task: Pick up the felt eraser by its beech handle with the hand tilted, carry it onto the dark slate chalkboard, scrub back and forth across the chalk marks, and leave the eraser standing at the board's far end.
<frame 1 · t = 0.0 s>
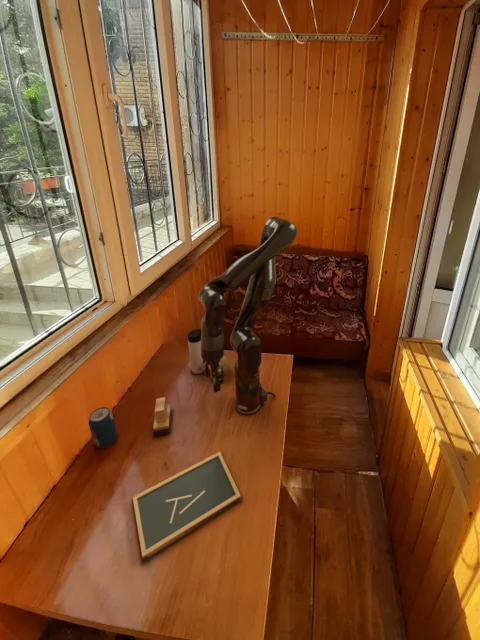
hand: (212, 383, 109), 17 cm above the table, tool pointing down, fingers open, 8 cm apart
soda can: (106, 441, 106), on the table
eraser: (163, 423, 113), on the table
chalkboard: (187, 501, 89), on the table
travel mug: (199, 370, 140), on the table
natural sponge: (220, 374, 137), on the table
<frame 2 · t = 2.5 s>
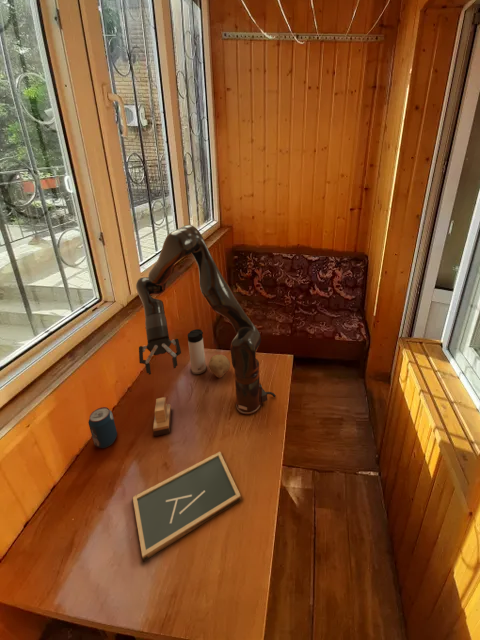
hand: (162, 371, 113), 18 cm above the table, tool tilted 40°, fingers open, 8 cm apart
nothing on the table moved.
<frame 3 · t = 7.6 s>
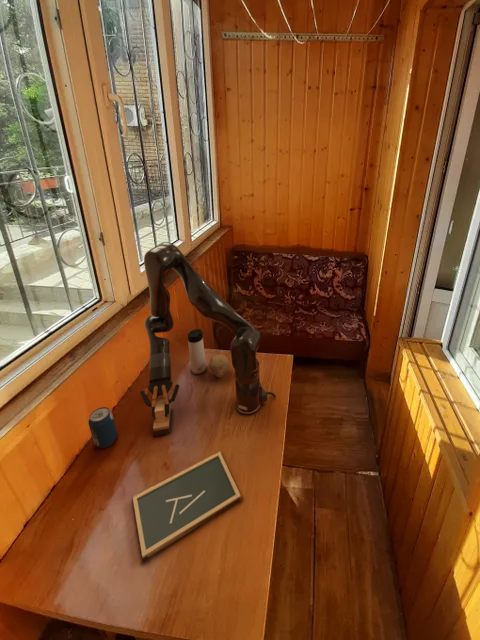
hand: (161, 417, 110), 5 cm above the table, tool tilted 45°, fingers closed on eraser, 3 cm apart
eraser: (163, 423, 113), on the table, touching gripper
everything else where it was.
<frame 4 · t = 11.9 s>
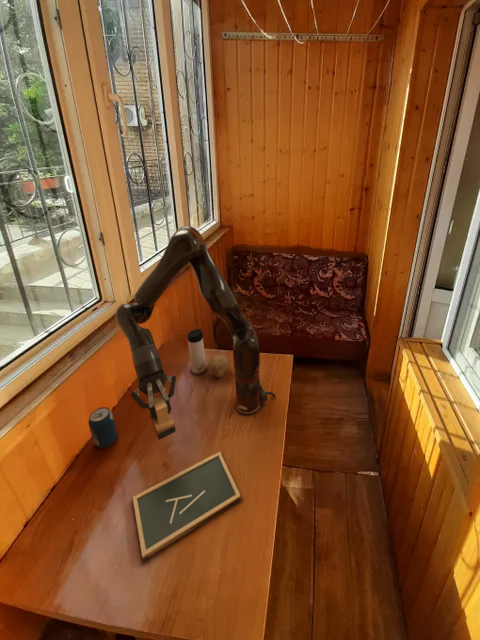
hand: (162, 416, 93), 19 cm above the table, tool tilted 45°, fingers closed on eraser, 3 cm apart
eraser: (162, 424, 97), point 14 cm above the table, touching gripper
everything else where it was.
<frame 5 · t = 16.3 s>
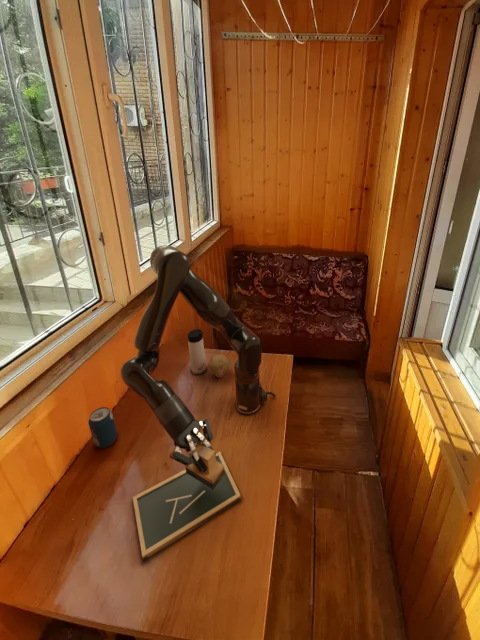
hand: (209, 464, 87), 12 cm above the table, tool tilted 45°, fingers closed on eraser, 3 cm apart
eraser: (205, 473, 89), point 7 cm above the table, touching gripper
everything else where it was.
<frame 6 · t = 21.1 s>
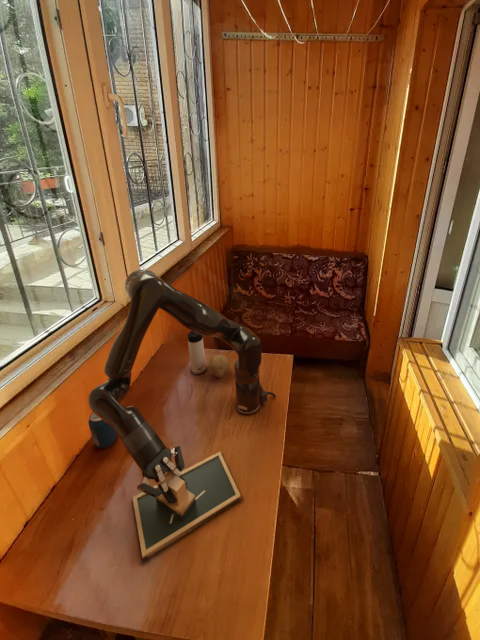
hand: (180, 495, 84), 6 cm above the table, tool tilted 45°, fingers closed on eraser, 3 cm apart
eraser: (176, 503, 87), point 2 cm above the table, touching chalkboard, gripper
everything else where it was.
when the fingers open (6 cm above the table, at t = 25.1 s): eraser stays where it is, resting on chalkboard.
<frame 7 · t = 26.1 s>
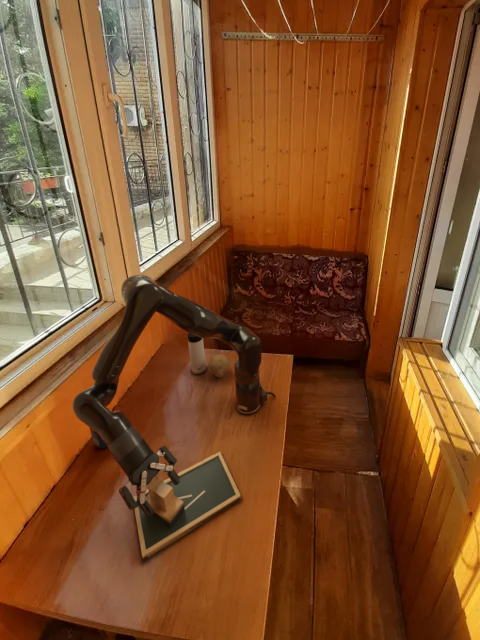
hand: (165, 498, 83), 7 cm above the table, tool tilted 45°, fingers open, 8 cm apart
eraser: (164, 509, 85), point 2 cm above the table, touching chalkboard
everything else where it was.
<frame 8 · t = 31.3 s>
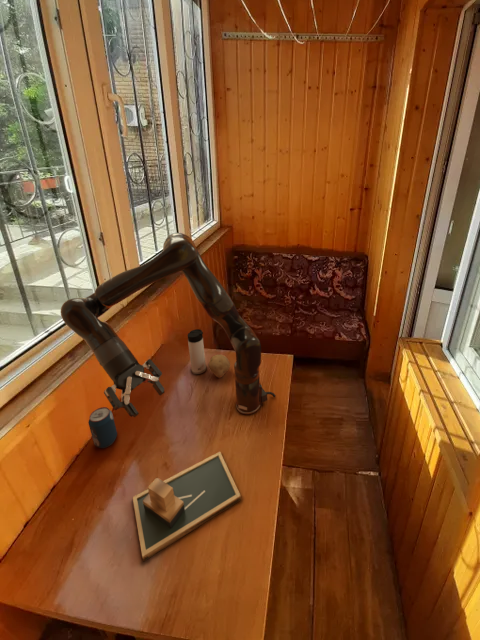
hand: (150, 404, 85), 29 cm above the table, tool tilted 45°, fingers open, 8 cm apart
nothing on the table moved.
at the end: eraser inside the target area on the chalkboard (0.1 cm from its centre), point 1.5 cm above the chalkboard's base; eraser tilted 0°; the gripper is holding nothing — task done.
